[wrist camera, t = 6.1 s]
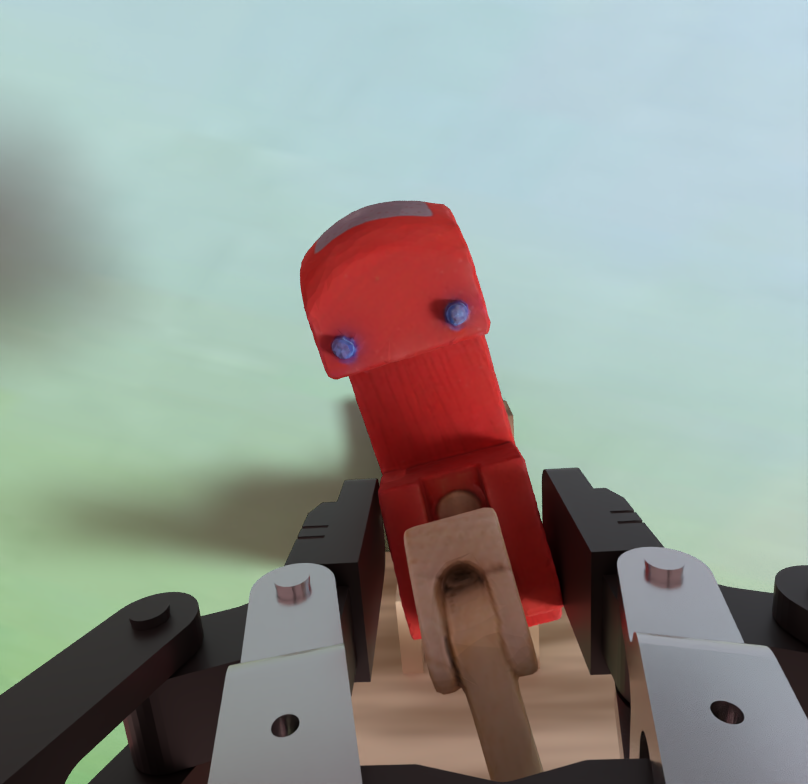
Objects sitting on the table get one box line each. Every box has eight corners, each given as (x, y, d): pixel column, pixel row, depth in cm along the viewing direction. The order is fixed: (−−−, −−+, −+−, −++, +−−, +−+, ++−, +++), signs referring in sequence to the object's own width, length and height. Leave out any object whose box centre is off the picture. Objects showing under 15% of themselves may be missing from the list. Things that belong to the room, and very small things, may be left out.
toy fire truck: (444, 194, 13) (524, 16, 4) (574, 673, 16) (807, 1272, 6) (310, 237, 13) (50, 179, 4) (463, 700, 16) (530, 1311, 7)
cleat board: (346, 411, 35) (241, 623, 15) (555, 397, 34) (722, 602, 14) (365, 578, 38) (298, 929, 18) (557, 569, 37) (698, 927, 18)
